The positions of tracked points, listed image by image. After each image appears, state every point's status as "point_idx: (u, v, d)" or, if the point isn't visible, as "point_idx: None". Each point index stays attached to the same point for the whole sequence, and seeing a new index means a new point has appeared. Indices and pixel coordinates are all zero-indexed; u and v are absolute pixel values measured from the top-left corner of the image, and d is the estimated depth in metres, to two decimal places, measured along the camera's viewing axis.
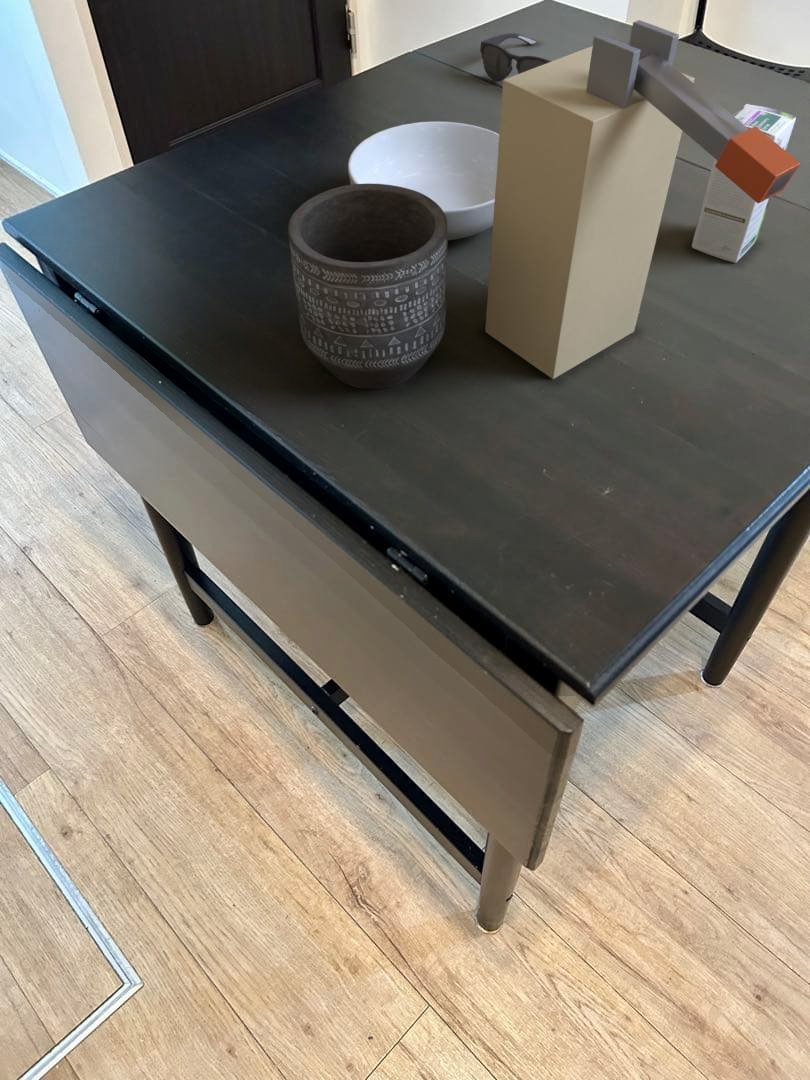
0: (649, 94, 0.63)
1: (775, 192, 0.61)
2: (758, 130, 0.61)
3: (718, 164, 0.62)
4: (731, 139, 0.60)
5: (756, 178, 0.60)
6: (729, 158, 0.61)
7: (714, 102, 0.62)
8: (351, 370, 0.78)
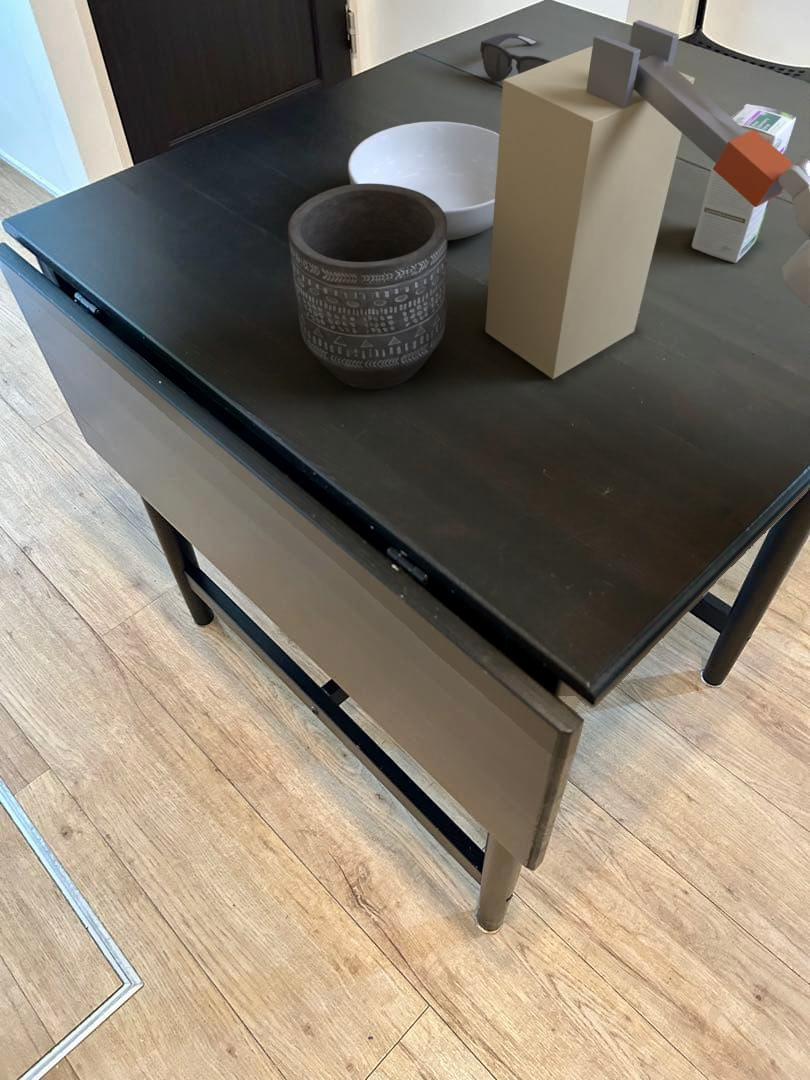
0: (649, 95, 0.63)
1: (772, 196, 0.61)
2: (756, 133, 0.61)
3: (716, 167, 0.62)
4: (730, 142, 0.60)
5: (753, 182, 0.60)
6: (727, 161, 0.61)
7: (713, 104, 0.62)
8: (351, 370, 0.78)
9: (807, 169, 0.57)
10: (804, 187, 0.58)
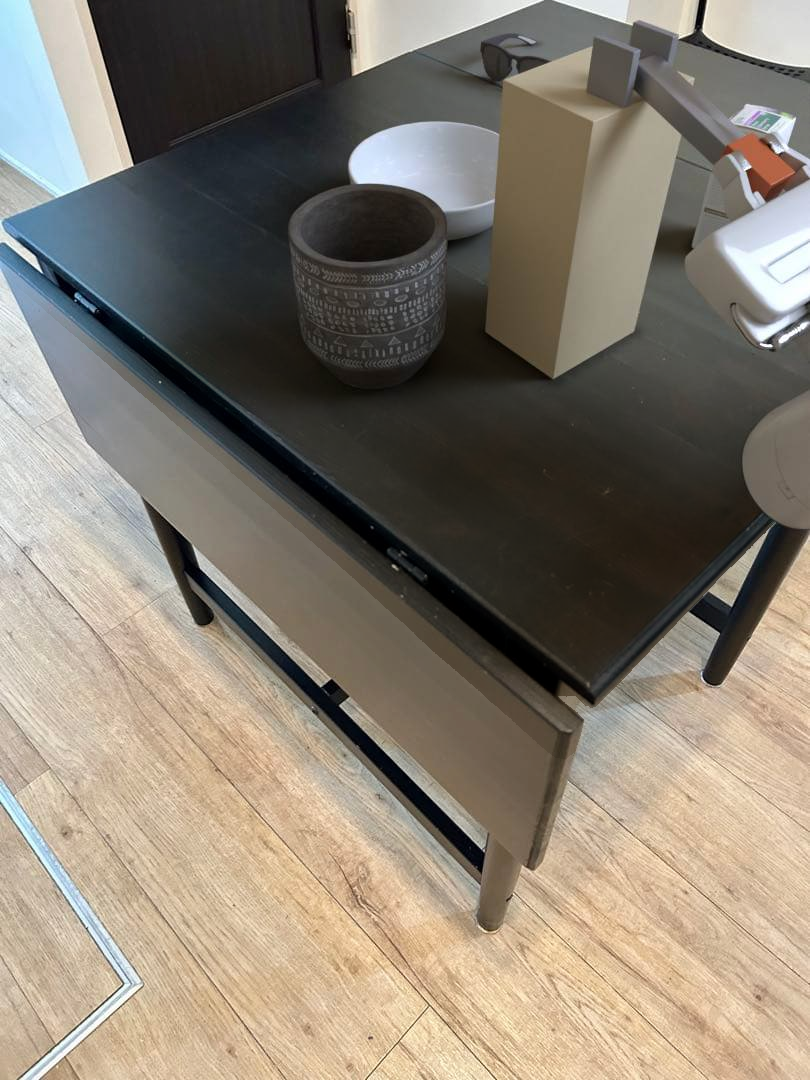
0: (648, 95, 0.64)
1: (770, 199, 0.62)
2: (755, 137, 0.61)
3: None
4: (728, 145, 0.60)
5: (751, 185, 0.60)
6: None
7: (712, 106, 0.62)
8: (351, 370, 0.78)
9: (740, 160, 0.59)
10: (735, 175, 0.59)
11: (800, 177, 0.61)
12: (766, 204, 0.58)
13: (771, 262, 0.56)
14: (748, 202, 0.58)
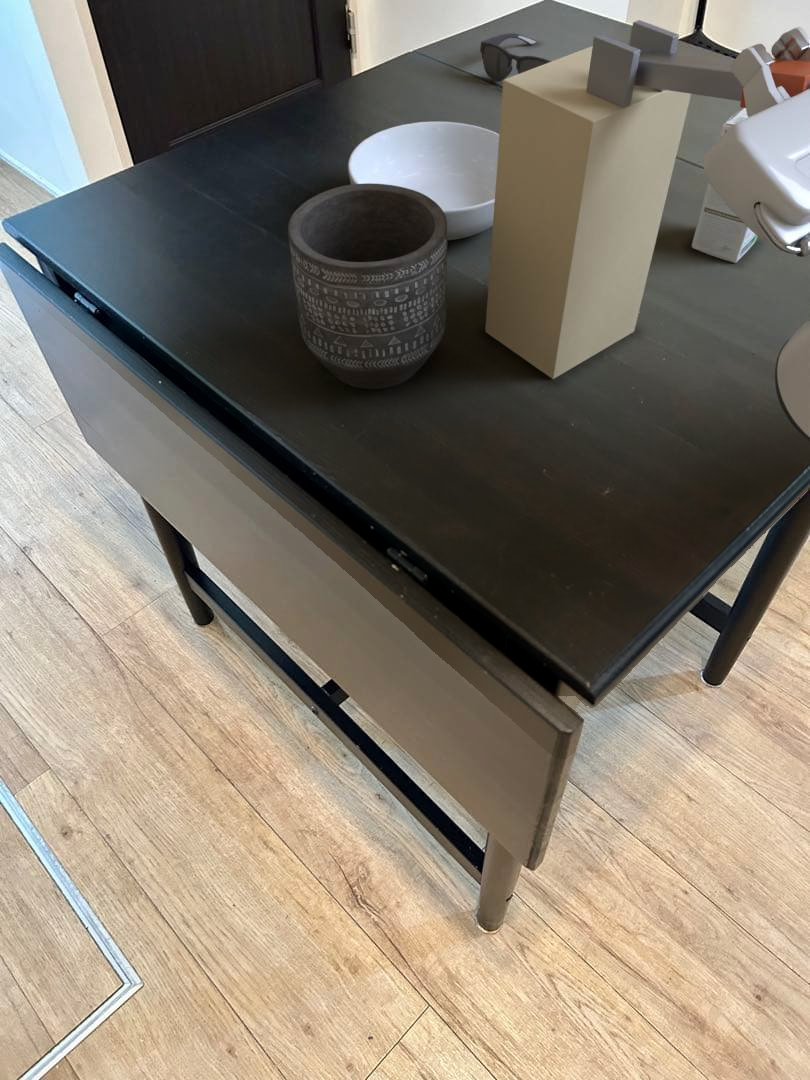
0: (654, 81, 0.63)
1: None
2: (775, 59, 0.57)
3: (743, 102, 0.58)
4: None
5: (786, 91, 0.55)
6: None
7: (722, 59, 0.60)
8: (351, 370, 0.78)
9: (762, 54, 0.54)
10: (757, 70, 0.54)
11: None
12: (792, 97, 0.53)
13: (799, 157, 0.51)
14: (772, 97, 0.53)
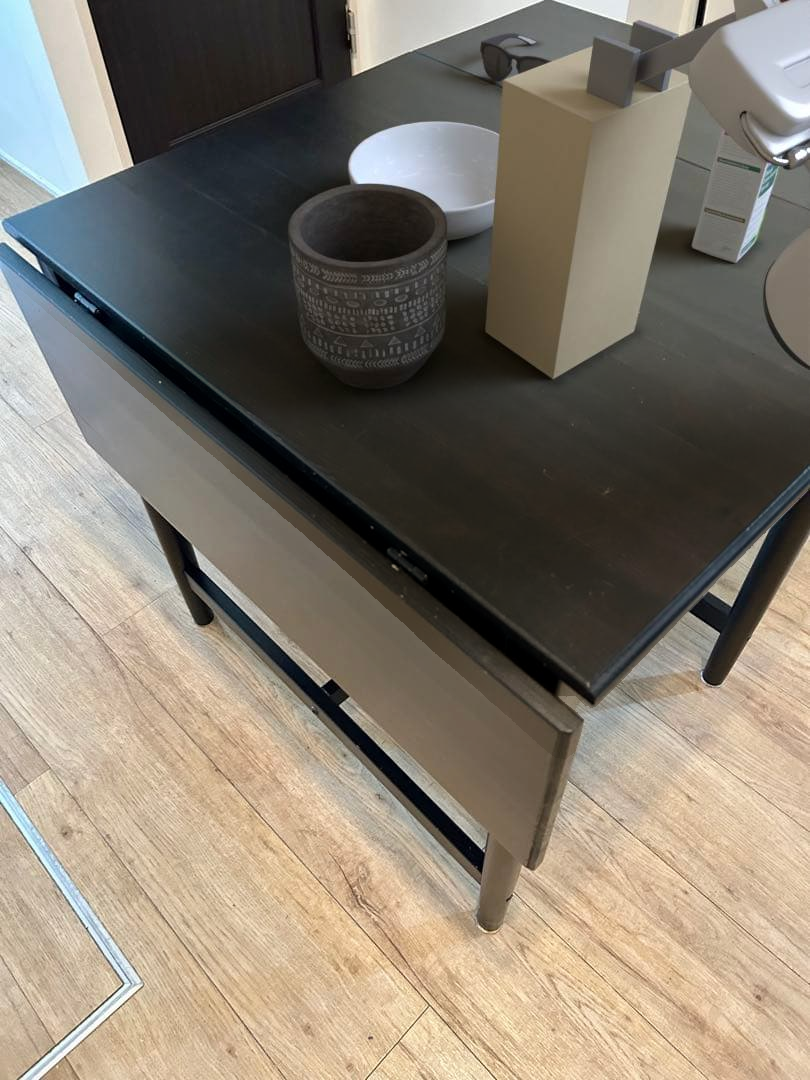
0: (654, 67, 0.62)
1: None
2: None
3: None
4: None
5: None
6: None
7: None
8: (351, 370, 0.78)
9: None
10: None
11: None
12: (781, 3, 0.51)
13: (787, 64, 0.49)
14: (762, 2, 0.51)
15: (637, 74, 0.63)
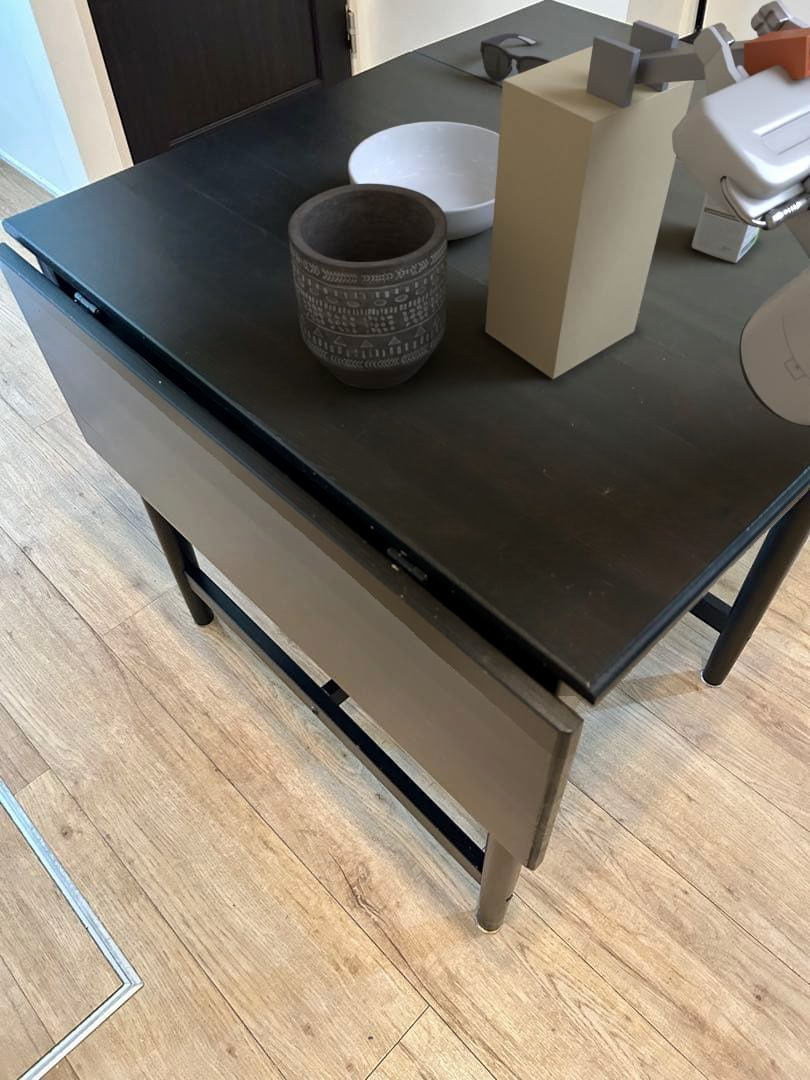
0: (655, 75, 0.62)
1: None
2: (775, 31, 0.56)
3: None
4: (745, 43, 0.56)
5: (788, 56, 0.54)
6: (753, 62, 0.56)
7: None
8: (351, 370, 0.78)
9: (722, 33, 0.55)
10: (717, 49, 0.55)
11: None
12: (759, 73, 0.54)
13: (764, 132, 0.52)
14: (731, 76, 0.54)
15: (636, 76, 0.64)
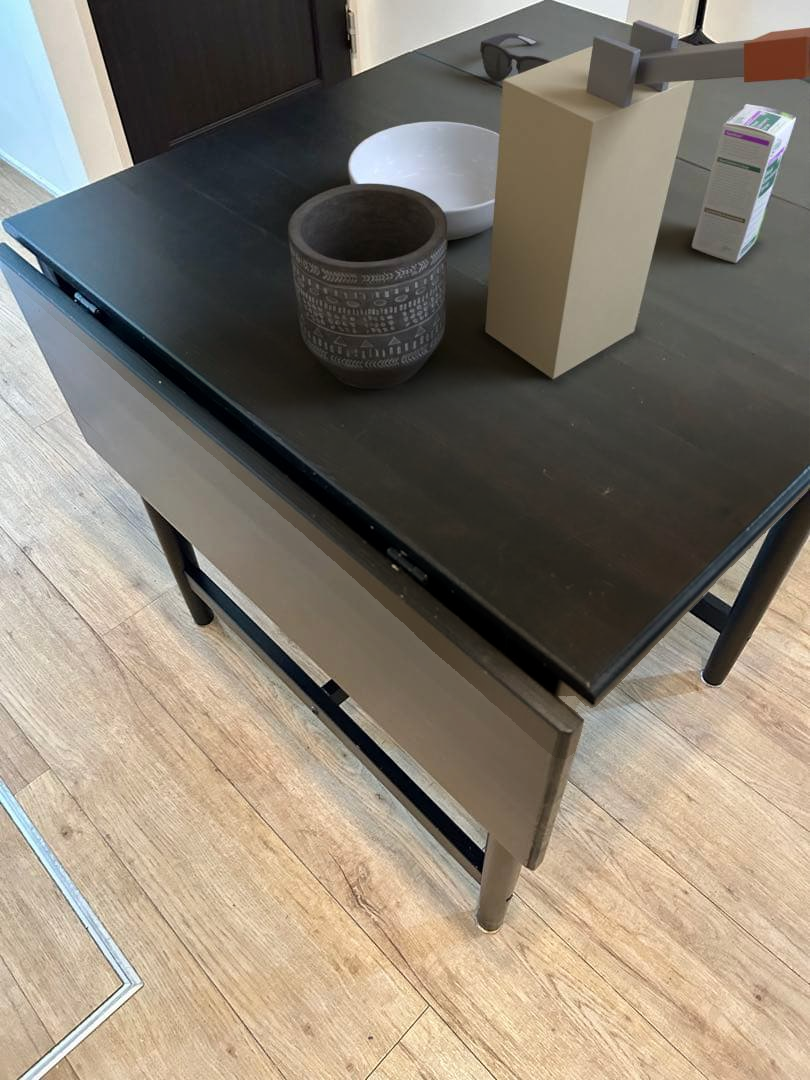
0: (655, 75, 0.62)
1: None
2: (775, 31, 0.56)
3: (746, 77, 0.57)
4: (745, 43, 0.56)
5: (788, 56, 0.54)
6: (753, 62, 0.56)
7: (721, 43, 0.59)
8: (351, 370, 0.78)
9: None
10: None
11: None
12: None
13: None
14: None
15: (636, 76, 0.64)
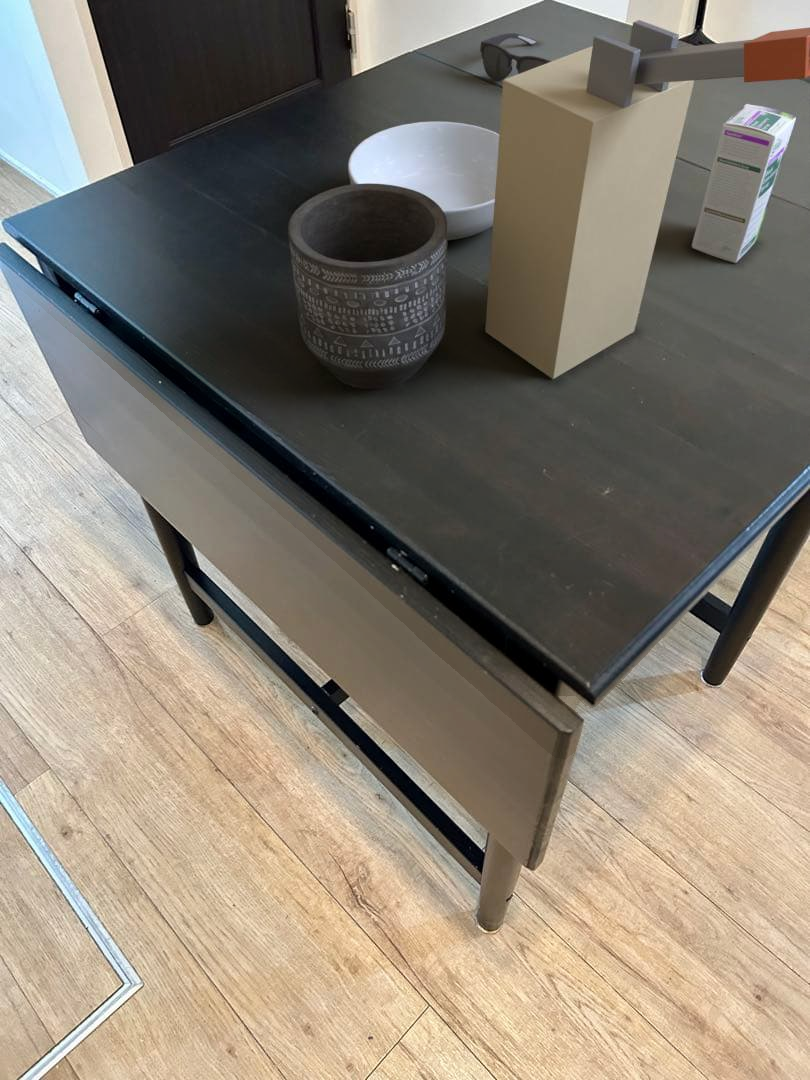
0: (655, 75, 0.62)
1: None
2: (775, 31, 0.56)
3: (746, 77, 0.57)
4: (745, 43, 0.56)
5: (788, 56, 0.54)
6: (753, 62, 0.56)
7: (721, 43, 0.59)
8: (351, 370, 0.78)
9: None
10: None
11: None
12: None
13: None
14: None
15: (636, 76, 0.64)
